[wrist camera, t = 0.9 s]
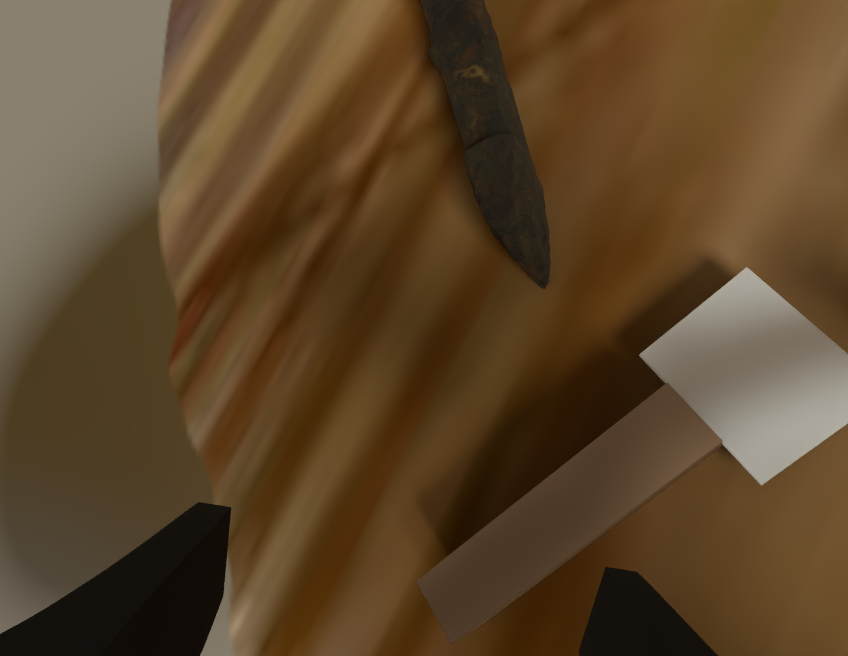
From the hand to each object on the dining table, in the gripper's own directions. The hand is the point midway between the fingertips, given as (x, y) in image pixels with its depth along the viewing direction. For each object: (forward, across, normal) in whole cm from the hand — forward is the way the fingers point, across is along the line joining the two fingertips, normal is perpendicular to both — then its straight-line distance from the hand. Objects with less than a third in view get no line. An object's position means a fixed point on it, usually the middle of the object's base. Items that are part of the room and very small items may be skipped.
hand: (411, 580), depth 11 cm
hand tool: (+23, -3, -10) cm, 25 cm away
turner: (+12, -9, +3) cm, 15 cm away
